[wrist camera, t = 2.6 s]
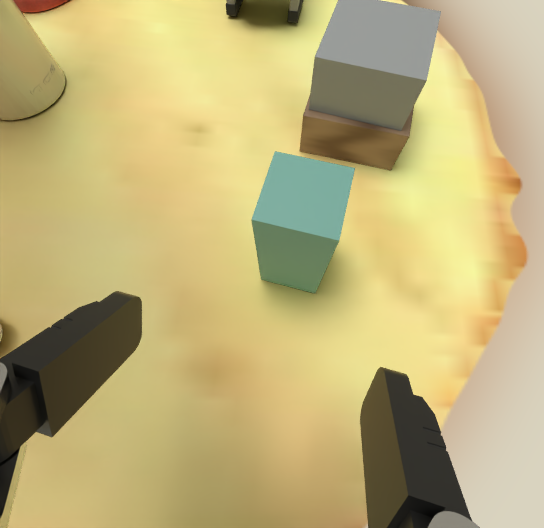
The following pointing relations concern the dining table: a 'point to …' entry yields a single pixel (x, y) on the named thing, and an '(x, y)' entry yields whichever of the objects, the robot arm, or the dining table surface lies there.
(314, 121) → the walnut base block
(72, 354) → the robot arm
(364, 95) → the gray top block
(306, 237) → the green block
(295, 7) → the figurine
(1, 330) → the rainbow petal toy
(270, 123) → the dining table surface
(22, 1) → the stacking bear
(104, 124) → the dining table surface
